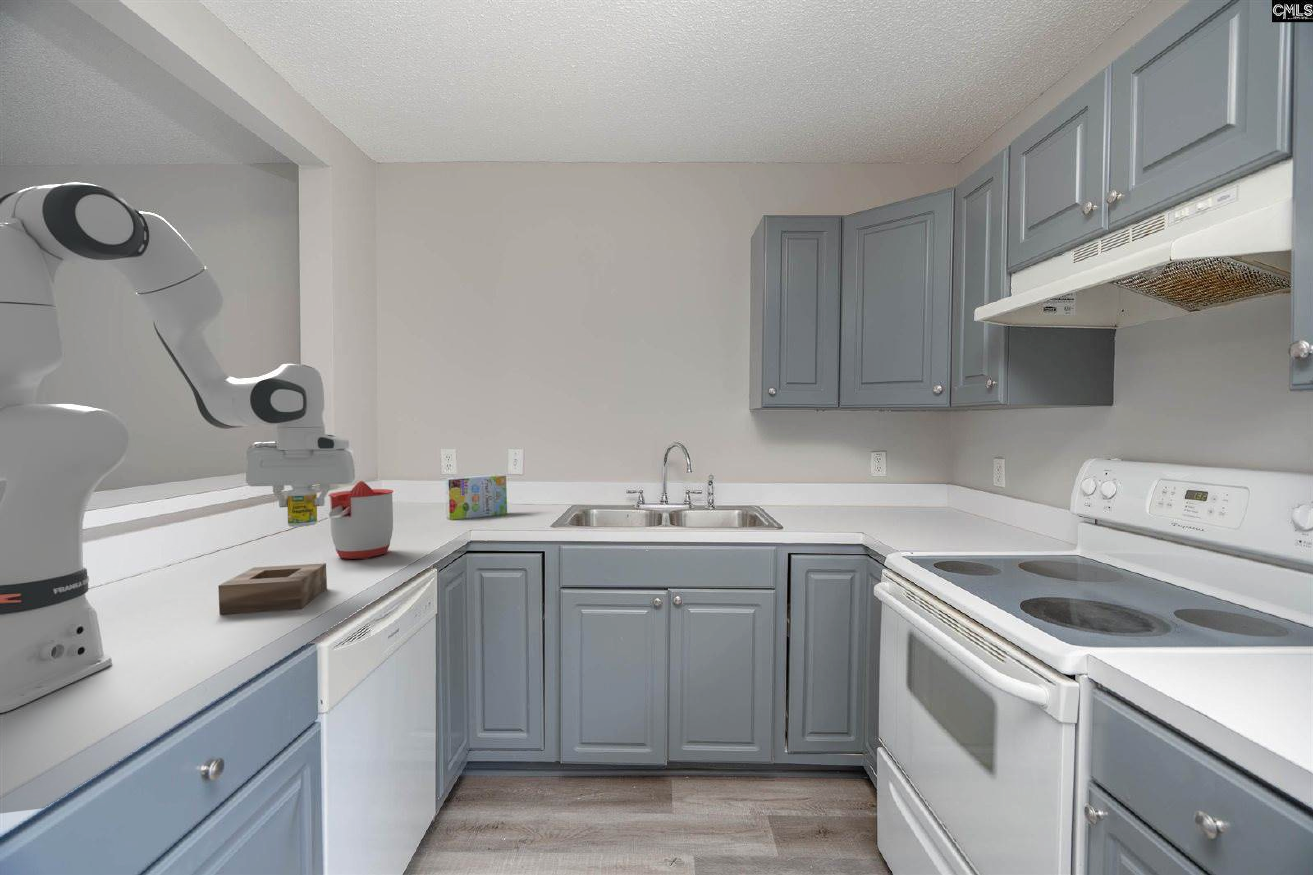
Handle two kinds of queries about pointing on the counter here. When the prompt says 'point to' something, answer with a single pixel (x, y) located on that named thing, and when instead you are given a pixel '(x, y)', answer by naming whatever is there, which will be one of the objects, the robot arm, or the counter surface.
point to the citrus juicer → (361, 521)
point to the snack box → (476, 496)
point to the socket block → (272, 588)
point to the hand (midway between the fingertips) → (302, 506)
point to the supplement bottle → (301, 505)
